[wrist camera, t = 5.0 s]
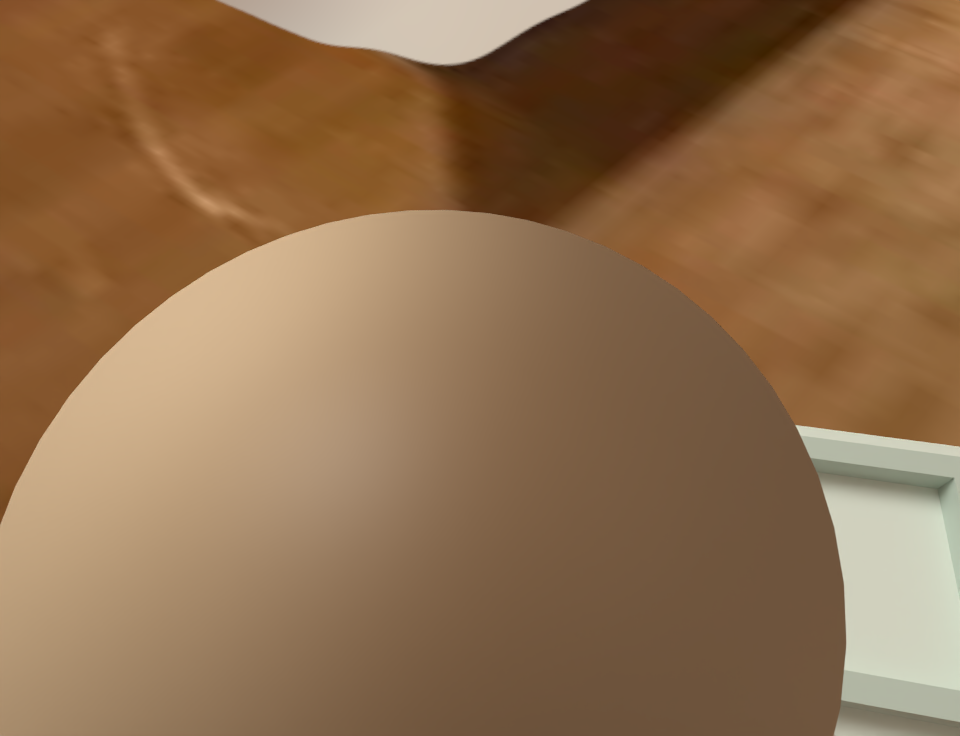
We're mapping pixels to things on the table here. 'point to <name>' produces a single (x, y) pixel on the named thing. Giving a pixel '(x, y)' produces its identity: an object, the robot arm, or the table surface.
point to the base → (895, 579)
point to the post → (422, 507)
